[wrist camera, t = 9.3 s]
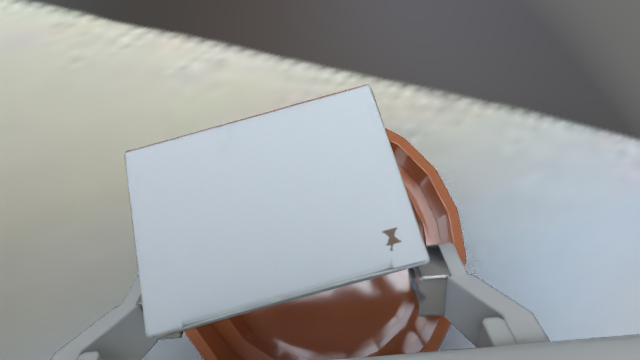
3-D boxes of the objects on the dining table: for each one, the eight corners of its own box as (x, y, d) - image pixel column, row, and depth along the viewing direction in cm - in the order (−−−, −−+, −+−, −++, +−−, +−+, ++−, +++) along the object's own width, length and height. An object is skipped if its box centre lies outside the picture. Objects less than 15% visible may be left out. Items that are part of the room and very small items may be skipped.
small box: (362, 174, 22) (377, 76, 11) (392, 273, 20) (440, 262, 10) (224, 211, 22) (116, 146, 11) (244, 313, 20) (139, 343, 10)
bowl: (206, 392, 25) (167, 424, 19) (203, 154, 29) (170, 126, 24) (460, 372, 24) (492, 399, 19) (420, 130, 28) (437, 96, 23)
